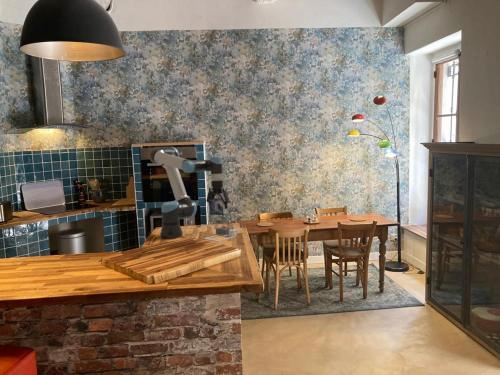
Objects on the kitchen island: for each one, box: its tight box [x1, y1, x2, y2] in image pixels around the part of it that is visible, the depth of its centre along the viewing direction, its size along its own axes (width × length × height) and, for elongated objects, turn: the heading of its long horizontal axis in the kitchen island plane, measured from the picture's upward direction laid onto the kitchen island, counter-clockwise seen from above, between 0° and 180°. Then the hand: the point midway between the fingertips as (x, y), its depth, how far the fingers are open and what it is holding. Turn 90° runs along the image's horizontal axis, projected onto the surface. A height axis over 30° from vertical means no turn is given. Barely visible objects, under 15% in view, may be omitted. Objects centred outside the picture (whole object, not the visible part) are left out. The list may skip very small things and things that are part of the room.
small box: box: [208, 197, 226, 216], centre depth 269 cm, size 11×6×10 cm, turn 73°
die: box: [229, 228, 238, 237], centre depth 278 cm, size 4×4×4 cm
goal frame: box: [203, 234, 236, 243], centre depth 271 cm, size 13×16×1 cm
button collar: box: [215, 226, 235, 235], centre depth 285 cm, size 9×9×4 cm
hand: (218, 213), depth 269 cm, fingers closed on small box, 12 cm apart
